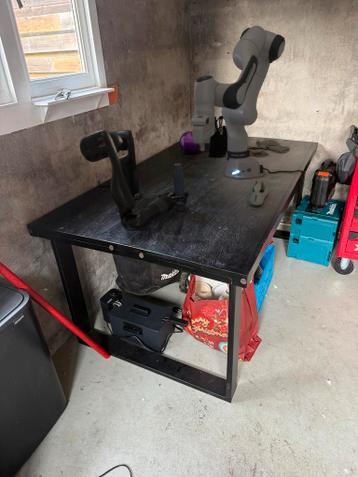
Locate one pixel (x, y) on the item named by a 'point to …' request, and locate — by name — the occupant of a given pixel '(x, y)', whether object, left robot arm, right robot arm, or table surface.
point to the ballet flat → (258, 193)
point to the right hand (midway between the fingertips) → (204, 149)
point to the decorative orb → (188, 143)
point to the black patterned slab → (219, 140)
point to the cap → (207, 146)
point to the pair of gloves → (267, 144)
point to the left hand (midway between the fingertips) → (182, 193)
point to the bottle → (179, 183)
